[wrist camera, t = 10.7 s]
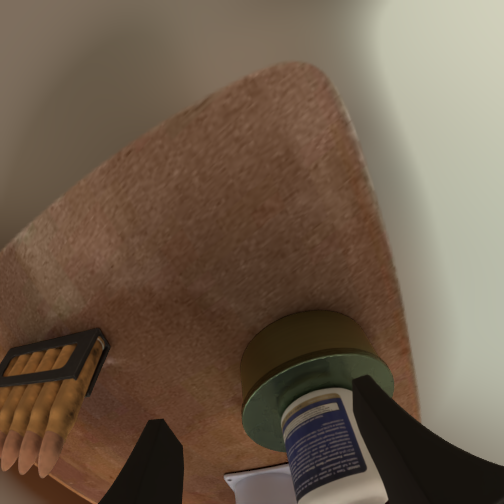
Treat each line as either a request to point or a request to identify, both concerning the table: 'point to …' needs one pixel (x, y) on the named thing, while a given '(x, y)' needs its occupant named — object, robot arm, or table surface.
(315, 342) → the tin
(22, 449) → the rifle cartridge clip
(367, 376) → the robot arm
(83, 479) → the table surface
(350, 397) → the pill bottle
